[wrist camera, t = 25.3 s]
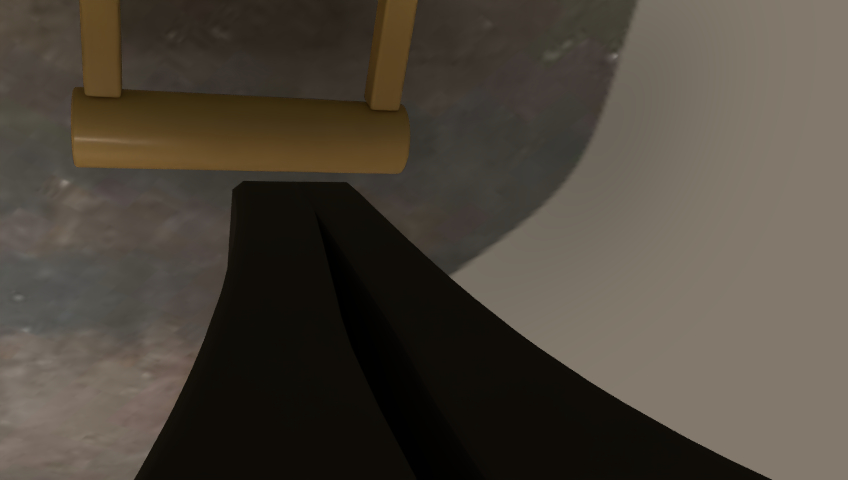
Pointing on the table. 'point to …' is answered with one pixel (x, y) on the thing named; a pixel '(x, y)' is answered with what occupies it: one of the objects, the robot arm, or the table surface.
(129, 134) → the drawer
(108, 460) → the table surface
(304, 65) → the table surface
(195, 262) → the table surface
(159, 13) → the table surface
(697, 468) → the robot arm
